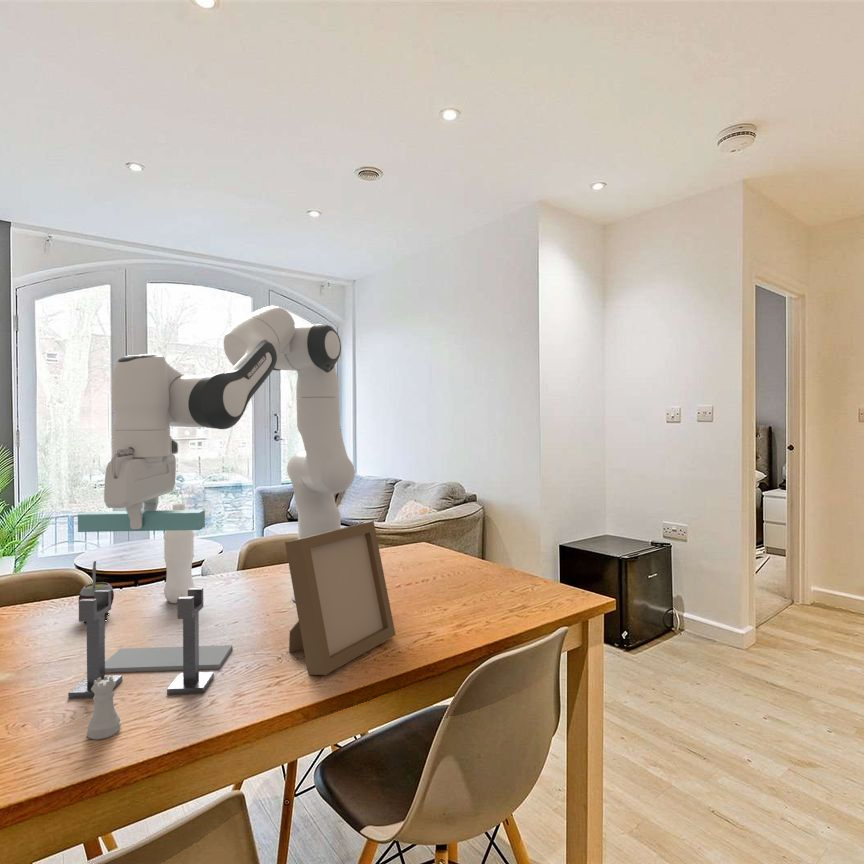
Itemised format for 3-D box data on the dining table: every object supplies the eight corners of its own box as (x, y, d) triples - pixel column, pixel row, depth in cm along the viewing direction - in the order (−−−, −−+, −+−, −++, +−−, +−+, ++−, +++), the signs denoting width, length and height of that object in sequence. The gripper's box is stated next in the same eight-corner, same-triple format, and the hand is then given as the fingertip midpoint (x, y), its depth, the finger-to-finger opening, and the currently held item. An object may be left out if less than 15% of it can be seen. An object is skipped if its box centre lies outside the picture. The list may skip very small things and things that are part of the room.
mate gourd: (99, 612, 135) (98, 551, 134) (123, 616, 132) (123, 554, 132) (69, 623, 127) (69, 558, 127) (95, 627, 125) (94, 561, 125)
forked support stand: (213, 677, 101) (213, 587, 101) (203, 693, 95) (202, 598, 95) (87, 681, 99) (86, 590, 99) (68, 698, 93) (67, 601, 93)
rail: (204, 526, 99) (204, 509, 99) (199, 530, 96) (199, 512, 96) (87, 528, 97) (87, 511, 97) (77, 532, 94) (77, 514, 94)
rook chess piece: (96, 725, 85) (95, 673, 85) (126, 723, 86) (126, 672, 85) (80, 741, 81) (79, 687, 80) (112, 740, 81) (111, 686, 81)
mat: (232, 648, 113) (232, 645, 113) (219, 668, 104) (219, 664, 104) (120, 652, 112) (120, 648, 111) (97, 672, 103) (97, 668, 103)
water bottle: (199, 596, 147) (199, 502, 147) (184, 605, 140) (184, 506, 139) (174, 595, 148) (173, 502, 147) (158, 604, 141) (157, 506, 140)
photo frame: (395, 639, 118) (394, 523, 118) (325, 680, 100) (323, 542, 100) (343, 626, 126) (341, 517, 126) (268, 662, 108) (266, 534, 107)
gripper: (134, 449, 86) (135, 538, 86) (181, 443, 106) (182, 515, 107) (91, 450, 85) (93, 539, 86) (147, 443, 106) (148, 515, 106)
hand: (143, 525), depth 96 cm, fingers closed on rail, 3 cm apart
